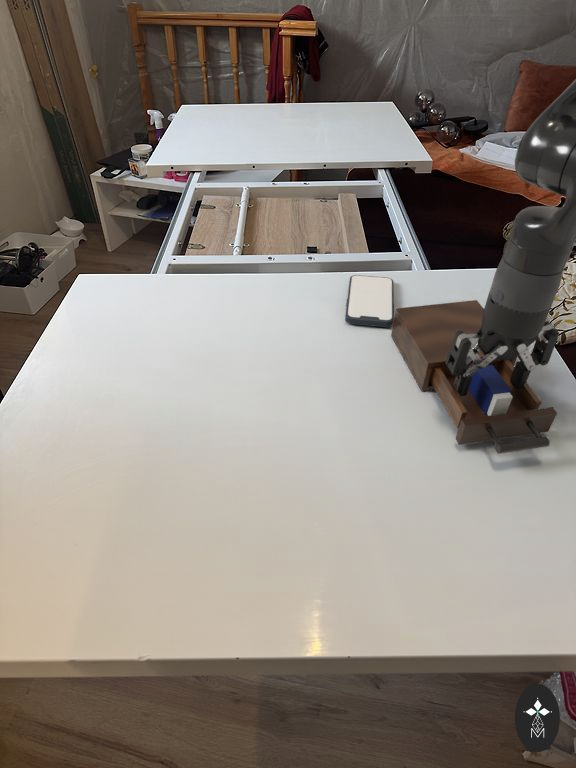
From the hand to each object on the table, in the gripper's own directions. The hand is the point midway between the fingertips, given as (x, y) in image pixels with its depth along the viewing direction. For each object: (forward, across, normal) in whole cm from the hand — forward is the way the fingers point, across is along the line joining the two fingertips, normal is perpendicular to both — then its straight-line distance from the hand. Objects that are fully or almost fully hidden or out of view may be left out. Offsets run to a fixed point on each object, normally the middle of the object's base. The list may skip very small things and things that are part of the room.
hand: (487, 388), depth 77 cm
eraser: (+2, 0, 0) cm, 2 cm away
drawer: (+3, 0, +2) cm, 4 cm away
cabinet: (+4, 0, -13) cm, 14 cm away
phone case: (+5, +8, -31) cm, 32 cm away
